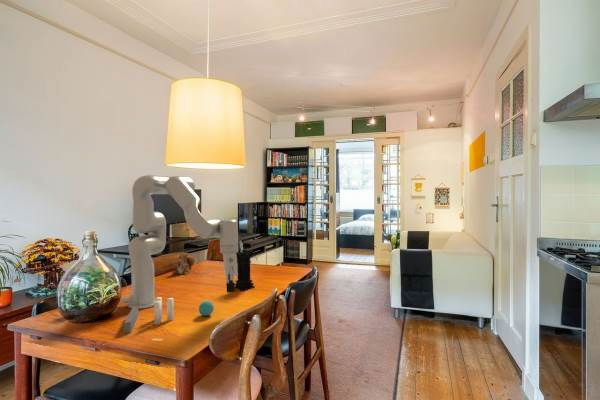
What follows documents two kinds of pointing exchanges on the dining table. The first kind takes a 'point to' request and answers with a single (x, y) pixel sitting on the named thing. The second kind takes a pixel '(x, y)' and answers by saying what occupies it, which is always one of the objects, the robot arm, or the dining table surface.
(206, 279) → the dining table surface
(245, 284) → the chess piece
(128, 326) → the wall
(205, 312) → the ball
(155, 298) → the back pin left
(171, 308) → the front pin
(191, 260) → the stuffed squirrel
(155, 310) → the back pin right
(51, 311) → the dining table surface
